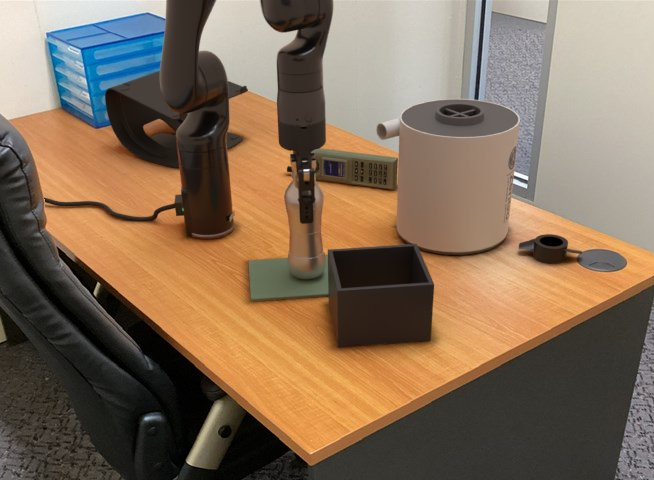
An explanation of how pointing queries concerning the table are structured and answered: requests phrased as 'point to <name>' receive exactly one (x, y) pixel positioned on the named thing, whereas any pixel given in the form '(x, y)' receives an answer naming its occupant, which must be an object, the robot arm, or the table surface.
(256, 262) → the mat
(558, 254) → the black tabbed ring
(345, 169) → the handheld radio
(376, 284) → the tote
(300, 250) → the plastic bottle
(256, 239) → the table surface
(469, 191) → the humidifier
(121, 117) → the laptop stand
